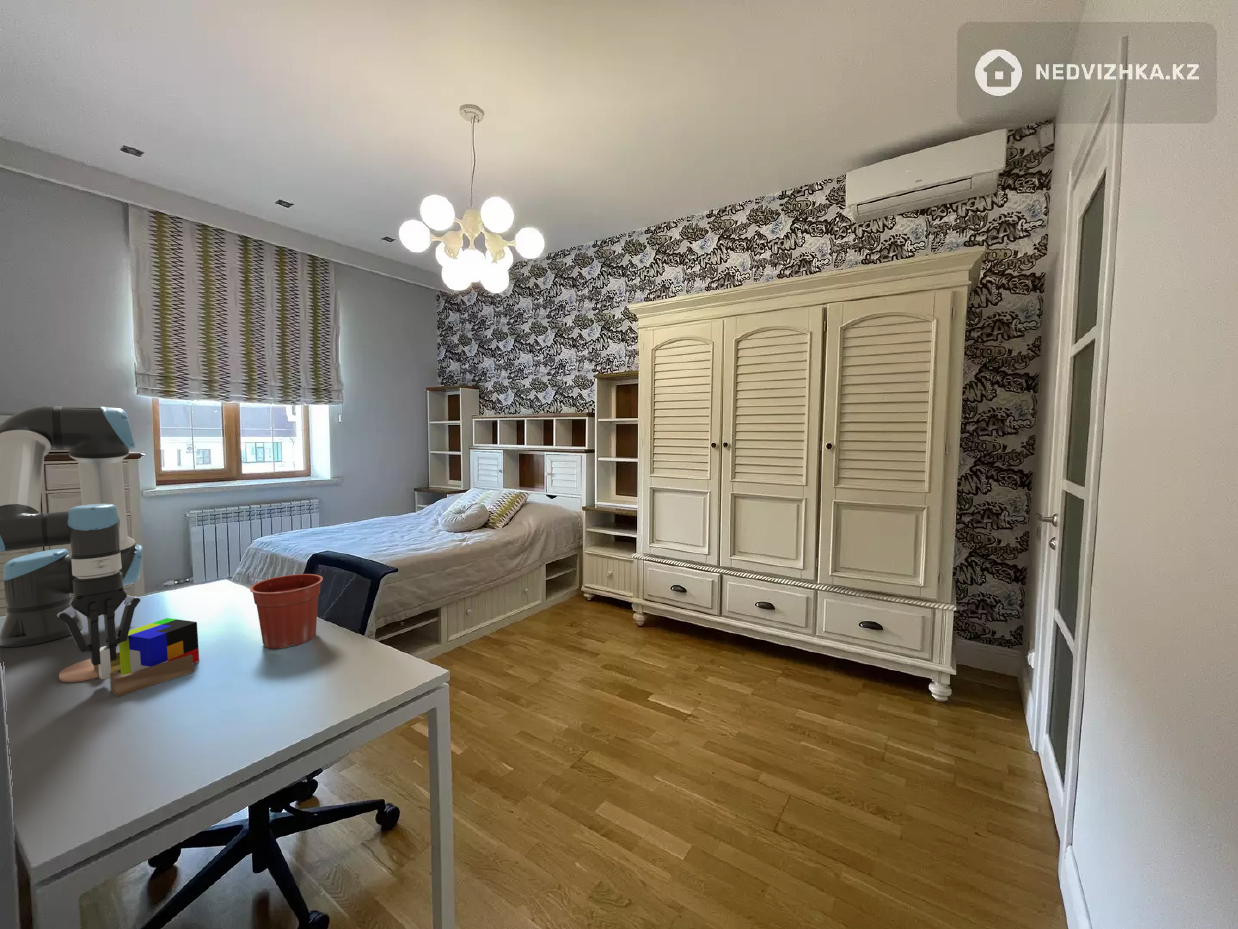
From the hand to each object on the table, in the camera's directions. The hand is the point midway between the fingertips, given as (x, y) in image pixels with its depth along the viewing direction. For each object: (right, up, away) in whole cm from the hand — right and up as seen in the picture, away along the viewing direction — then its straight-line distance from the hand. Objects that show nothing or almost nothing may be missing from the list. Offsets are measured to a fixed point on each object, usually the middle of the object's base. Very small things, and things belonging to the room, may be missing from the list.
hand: (105, 676), depth 110 cm
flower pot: (+26, -1, +24) cm, 35 cm away
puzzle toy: (+5, -2, +8) cm, 10 cm away
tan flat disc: (-10, -2, +7) cm, 12 cm away
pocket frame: (+3, -2, +6) cm, 7 cm away
